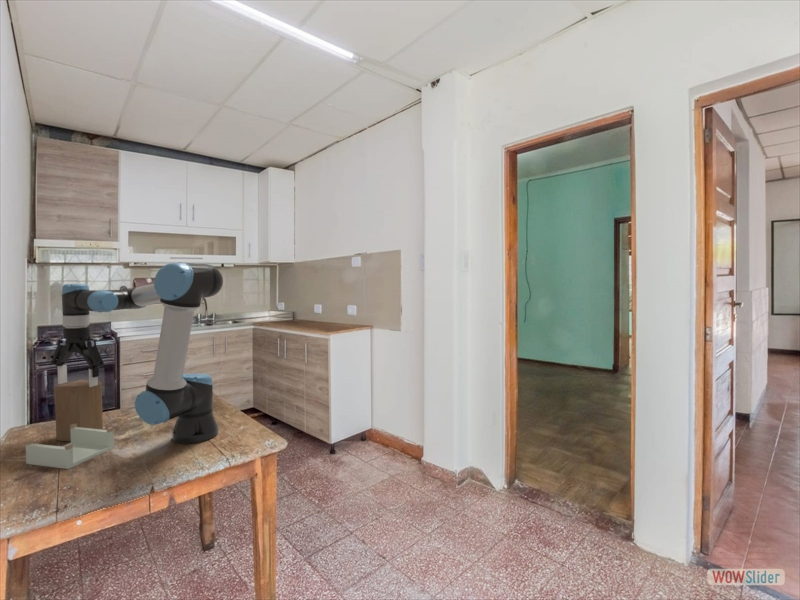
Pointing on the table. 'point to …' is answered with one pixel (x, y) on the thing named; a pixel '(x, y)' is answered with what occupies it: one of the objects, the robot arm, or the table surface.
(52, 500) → the table surface
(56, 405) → the wooden block
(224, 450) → the table surface
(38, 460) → the pale green tray
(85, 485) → the table surface
